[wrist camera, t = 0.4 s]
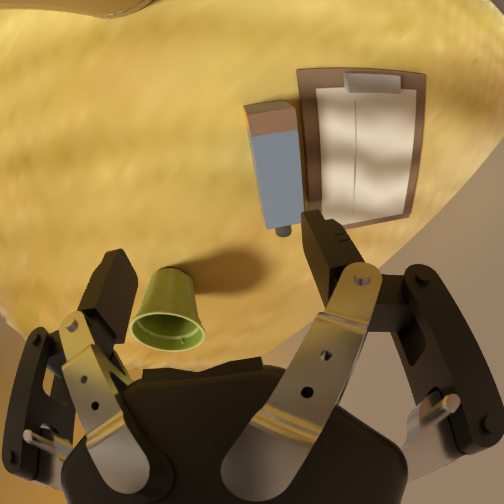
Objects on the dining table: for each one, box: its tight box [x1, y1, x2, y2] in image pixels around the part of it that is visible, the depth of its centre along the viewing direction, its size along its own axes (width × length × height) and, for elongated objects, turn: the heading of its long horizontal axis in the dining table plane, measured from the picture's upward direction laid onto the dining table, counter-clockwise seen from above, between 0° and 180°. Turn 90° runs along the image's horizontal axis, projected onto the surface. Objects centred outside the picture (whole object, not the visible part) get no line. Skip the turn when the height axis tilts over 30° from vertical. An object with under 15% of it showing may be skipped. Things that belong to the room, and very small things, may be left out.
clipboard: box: [296, 68, 425, 230], centre depth 26 cm, size 20×15×2 cm
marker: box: [243, 100, 304, 237], centre depth 26 cm, size 14×4×4 cm, turn 9°
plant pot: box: [130, 268, 205, 352], centre depth 34 cm, size 9×9×9 cm
